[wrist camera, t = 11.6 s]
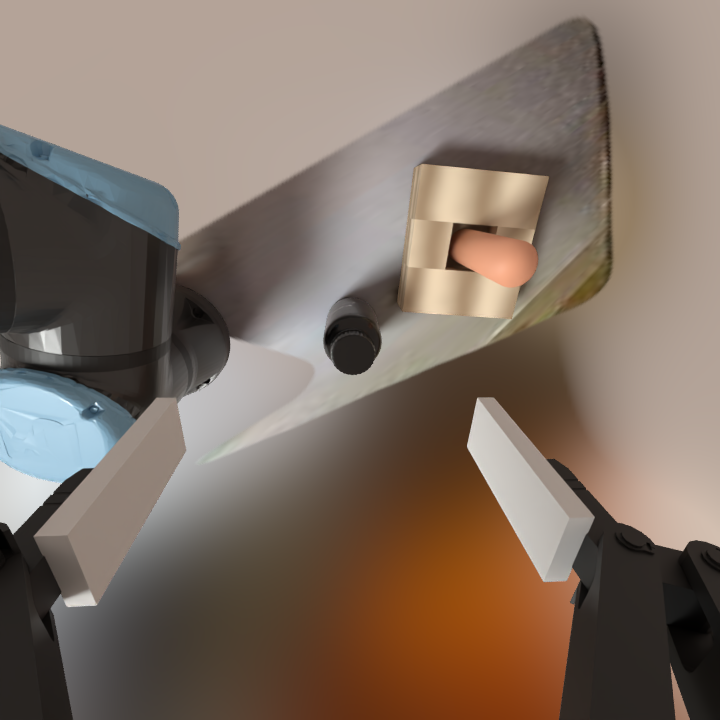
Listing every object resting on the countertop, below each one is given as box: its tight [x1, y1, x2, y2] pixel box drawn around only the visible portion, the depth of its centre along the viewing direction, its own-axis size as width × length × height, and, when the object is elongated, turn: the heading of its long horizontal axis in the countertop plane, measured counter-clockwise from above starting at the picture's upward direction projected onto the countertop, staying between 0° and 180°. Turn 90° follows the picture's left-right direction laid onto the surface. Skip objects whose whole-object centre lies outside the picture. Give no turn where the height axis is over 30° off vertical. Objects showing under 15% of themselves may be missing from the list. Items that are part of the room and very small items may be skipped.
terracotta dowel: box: [448, 229, 538, 288], centre depth 36 cm, size 4×4×14 cm
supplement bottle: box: [323, 298, 382, 375], centre depth 42 cm, size 7×7×12 cm
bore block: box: [397, 164, 549, 319], centre depth 42 cm, size 14×16×4 cm
